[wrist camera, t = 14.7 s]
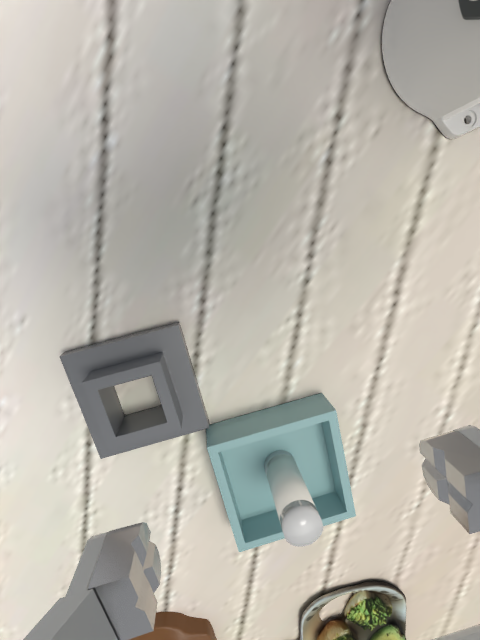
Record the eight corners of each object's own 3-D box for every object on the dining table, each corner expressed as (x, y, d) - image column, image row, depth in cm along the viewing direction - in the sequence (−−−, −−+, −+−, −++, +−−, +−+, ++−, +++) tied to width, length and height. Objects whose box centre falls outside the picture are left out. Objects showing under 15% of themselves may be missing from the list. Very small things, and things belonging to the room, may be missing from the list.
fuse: (291, 446, 42) (319, 507, 32) (297, 472, 43) (326, 539, 33) (260, 455, 42) (279, 519, 32) (267, 481, 43) (288, 551, 33)
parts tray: (321, 392, 42) (335, 410, 38) (340, 489, 46) (355, 516, 41) (206, 425, 41) (206, 447, 37) (235, 522, 45) (239, 552, 40)
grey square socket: (179, 321, 38) (176, 332, 33) (209, 421, 41) (210, 442, 37) (65, 352, 37) (47, 366, 33) (104, 450, 40) (92, 476, 36)
